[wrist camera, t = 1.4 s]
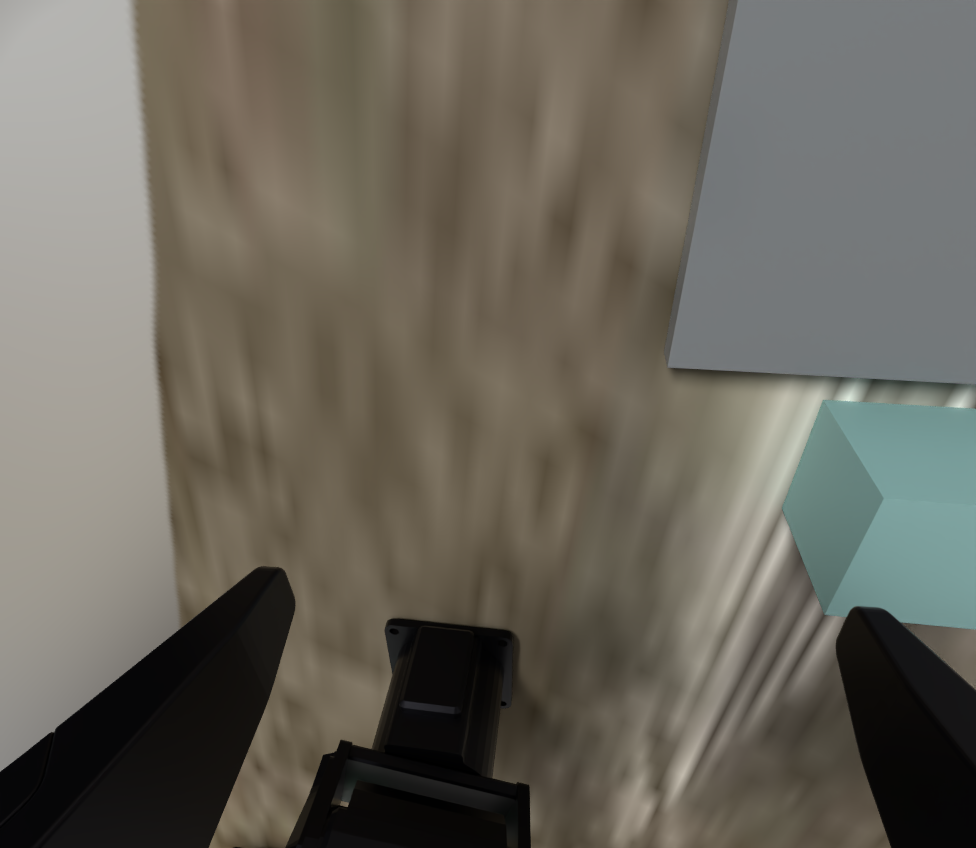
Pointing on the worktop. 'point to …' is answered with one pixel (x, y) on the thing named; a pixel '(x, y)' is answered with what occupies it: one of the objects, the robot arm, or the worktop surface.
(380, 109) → the worktop surface
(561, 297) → the worktop surface
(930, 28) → the pad
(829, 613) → the block
